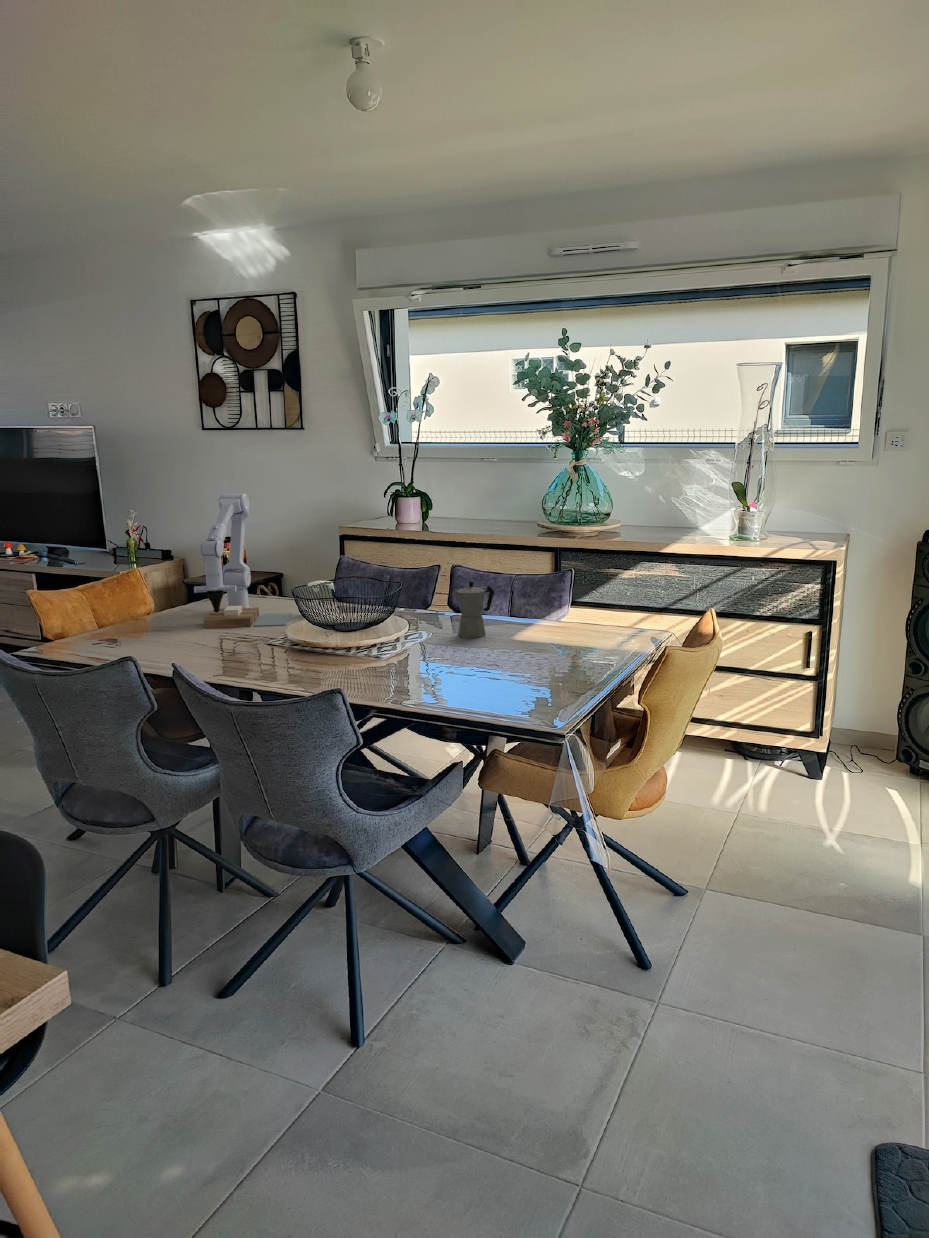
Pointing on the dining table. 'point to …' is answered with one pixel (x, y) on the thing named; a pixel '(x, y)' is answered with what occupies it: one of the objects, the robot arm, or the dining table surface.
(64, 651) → the dining table surface
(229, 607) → the tile
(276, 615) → the mat
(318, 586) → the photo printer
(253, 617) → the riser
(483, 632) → the coffeepot
